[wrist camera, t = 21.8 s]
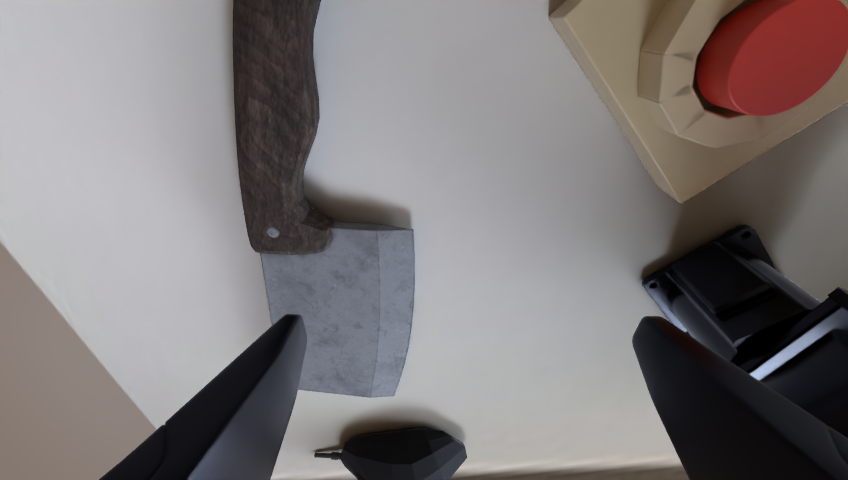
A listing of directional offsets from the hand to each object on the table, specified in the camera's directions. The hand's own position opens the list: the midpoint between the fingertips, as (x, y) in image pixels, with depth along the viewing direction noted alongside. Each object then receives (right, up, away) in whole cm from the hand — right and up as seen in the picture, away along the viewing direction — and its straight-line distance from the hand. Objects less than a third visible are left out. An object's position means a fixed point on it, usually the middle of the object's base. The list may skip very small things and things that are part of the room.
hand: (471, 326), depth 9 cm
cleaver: (-7, +2, +13) cm, 15 cm away
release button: (+11, +9, +4) cm, 15 cm away
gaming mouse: (-5, -18, +25) cm, 31 cm away
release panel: (+11, +11, +7) cm, 17 cm away
